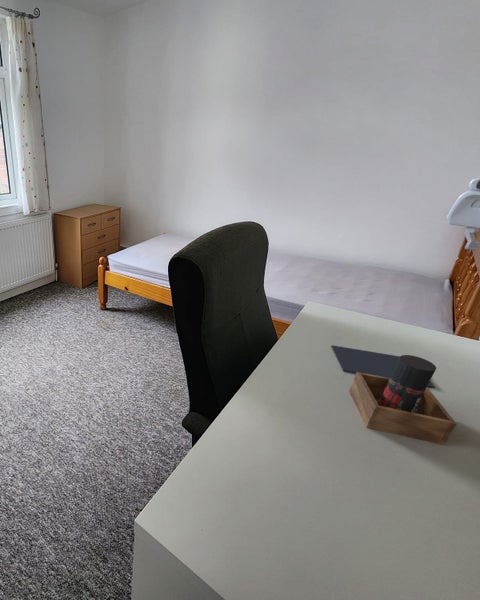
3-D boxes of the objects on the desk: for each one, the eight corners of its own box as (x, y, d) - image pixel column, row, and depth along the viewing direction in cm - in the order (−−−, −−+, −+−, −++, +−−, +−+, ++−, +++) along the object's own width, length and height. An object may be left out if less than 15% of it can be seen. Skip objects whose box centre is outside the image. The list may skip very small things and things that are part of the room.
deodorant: (377, 402, 84) (401, 351, 78) (409, 415, 80) (437, 362, 74) (373, 415, 80) (398, 362, 74) (407, 428, 76) (435, 374, 70)
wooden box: (415, 404, 83) (425, 384, 81) (444, 445, 72) (457, 424, 69) (349, 390, 88) (356, 371, 86) (366, 427, 77) (375, 406, 74)
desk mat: (410, 359, 100) (411, 358, 100) (434, 388, 89) (435, 386, 88) (331, 346, 107) (331, 345, 107) (343, 371, 96) (343, 369, 95)
